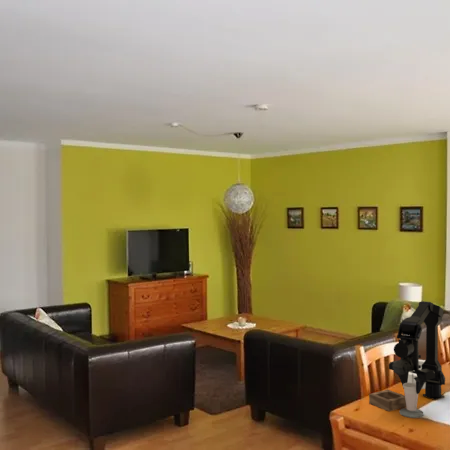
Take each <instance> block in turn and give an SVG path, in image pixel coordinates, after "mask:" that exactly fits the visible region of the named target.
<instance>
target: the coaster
mask: <svg viewBox="0 0 450 450" xmlns="http://www.w3.org/2000/svg"><path fill="white" fill-rule="evenodd" d="M399 414H400V415H401V416H402V417H406V418H411V419H420V418H423V417H424V411H422V410H421V409H418V408H417V409H416V410H415V411H410V410H407V408H406V407H404V408H400V409H399Z"/></svg>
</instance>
